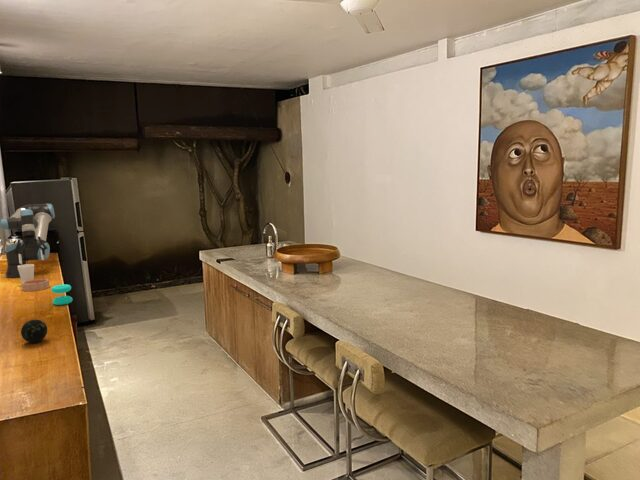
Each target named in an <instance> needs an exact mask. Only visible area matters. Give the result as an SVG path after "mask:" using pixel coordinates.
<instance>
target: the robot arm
mask: <svg viewBox="0 0 640 480" xmlns="http://www.w3.org/2000/svg"><path fill="white" fill-rule="evenodd" d="M55 217H56V215H55V209H54V205H53V204H52V203H38V204H37V203H36V204H35V203H32V204H26V205H23V206H21V207H19V208H18V209H16V211H15V212H14V213H13V214H12V215H11V216H10V217H8V218H2V219H1V220H0V228H1V229H2V230H3V231H4V230H21V232H22V239H18V240H17V242H16V243H12V244H8V245H6V247H5V255H6V256H5V257H6V263H7V268H6V270H5V271H6V272H5V278H6V279H7V278H8V279H15V278H16V279H17V278H20V274H19V270H18V266H19V265H25V264H28V263H27V262H28V261H45V260H47V259H48V258H49V256H50V253H51V251H50V250H51V248H50V244H49V243H48V242H47V238H48V237H47V235H48V229H49V224H50V222H51V221H52V219H55Z"/></svg>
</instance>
